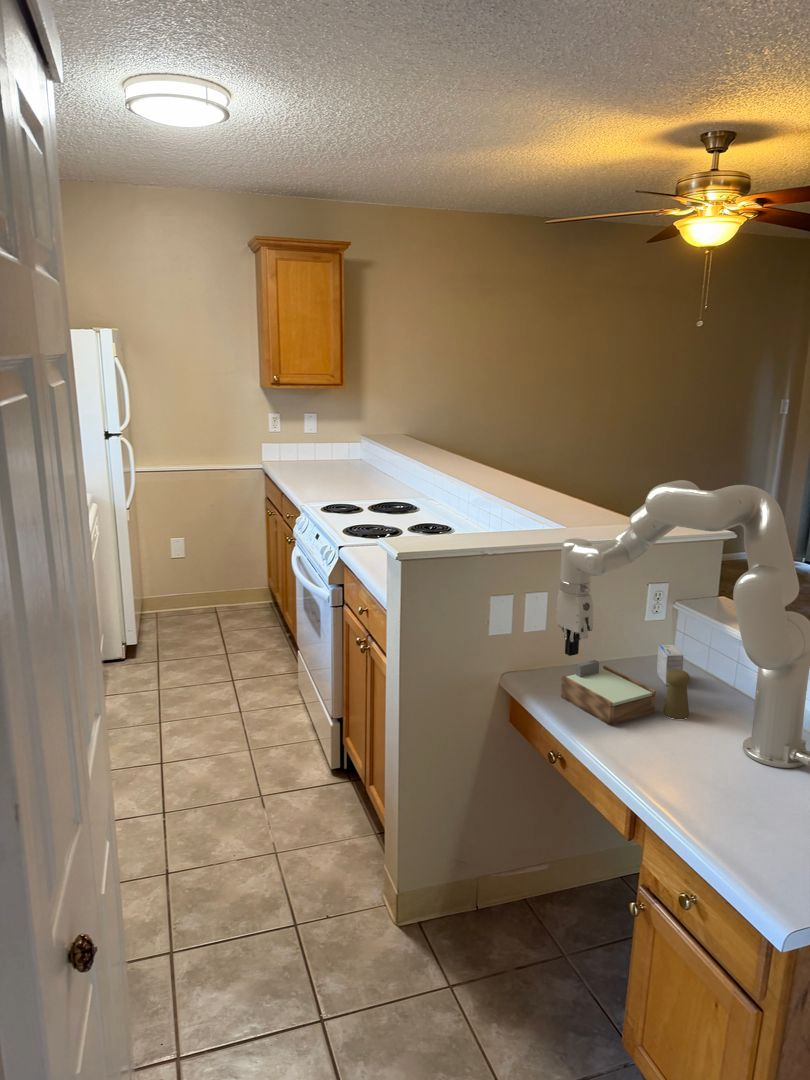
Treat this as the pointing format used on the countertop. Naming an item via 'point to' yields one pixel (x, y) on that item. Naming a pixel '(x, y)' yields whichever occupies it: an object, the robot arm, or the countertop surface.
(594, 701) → the wooden drawer box
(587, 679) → the lid
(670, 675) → the cork
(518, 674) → the countertop surface
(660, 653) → the medicine box
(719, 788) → the countertop surface
